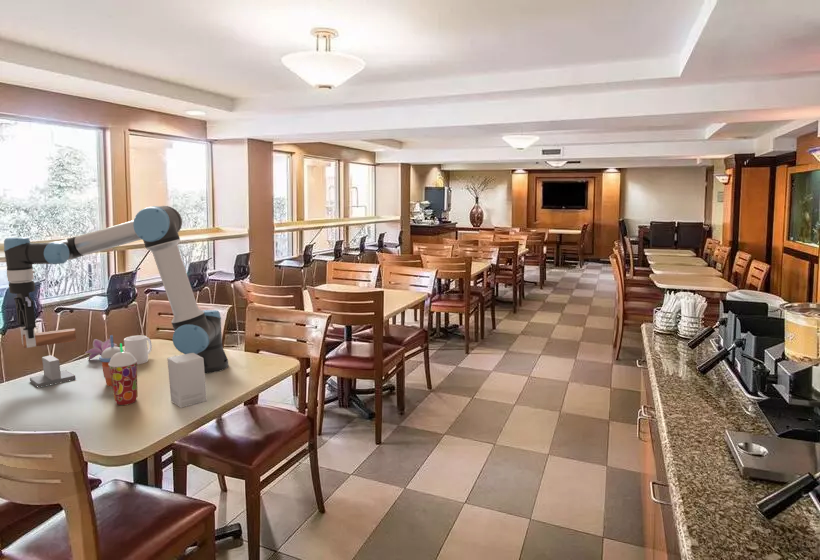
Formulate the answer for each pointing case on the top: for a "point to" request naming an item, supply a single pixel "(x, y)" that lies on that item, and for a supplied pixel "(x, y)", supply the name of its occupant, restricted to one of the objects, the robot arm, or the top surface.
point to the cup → (138, 347)
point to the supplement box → (187, 379)
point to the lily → (99, 347)
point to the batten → (53, 337)
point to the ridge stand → (51, 373)
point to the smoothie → (123, 377)
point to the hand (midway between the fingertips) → (29, 345)
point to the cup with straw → (108, 360)
